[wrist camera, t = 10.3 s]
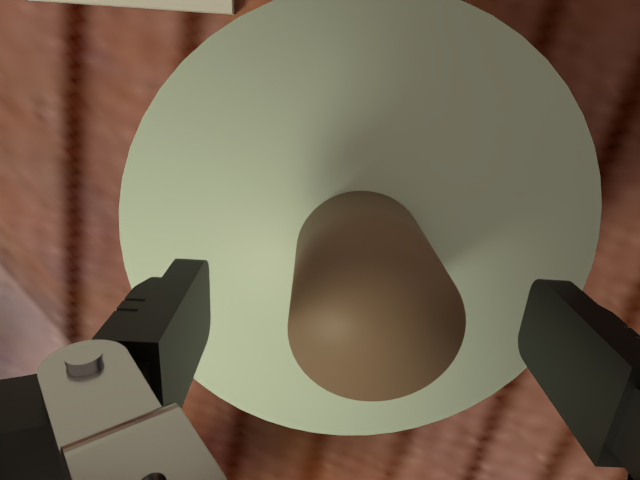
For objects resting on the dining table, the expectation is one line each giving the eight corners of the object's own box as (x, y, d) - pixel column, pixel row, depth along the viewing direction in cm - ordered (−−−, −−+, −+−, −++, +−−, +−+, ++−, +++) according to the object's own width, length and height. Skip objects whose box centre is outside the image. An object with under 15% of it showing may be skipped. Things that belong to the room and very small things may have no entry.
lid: (646, 6, 13) (863, -29, 8) (526, 424, 18) (607, 565, 13) (107, -31, 12) (-40, -94, 7) (149, 407, 18) (81, 547, 13)
